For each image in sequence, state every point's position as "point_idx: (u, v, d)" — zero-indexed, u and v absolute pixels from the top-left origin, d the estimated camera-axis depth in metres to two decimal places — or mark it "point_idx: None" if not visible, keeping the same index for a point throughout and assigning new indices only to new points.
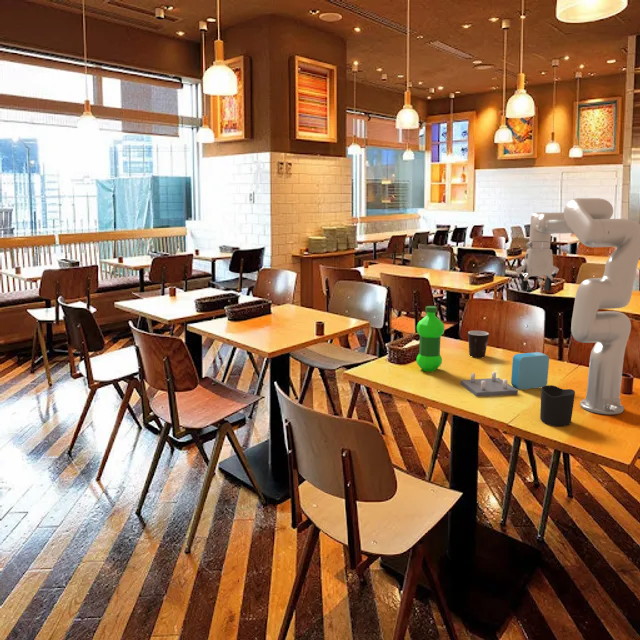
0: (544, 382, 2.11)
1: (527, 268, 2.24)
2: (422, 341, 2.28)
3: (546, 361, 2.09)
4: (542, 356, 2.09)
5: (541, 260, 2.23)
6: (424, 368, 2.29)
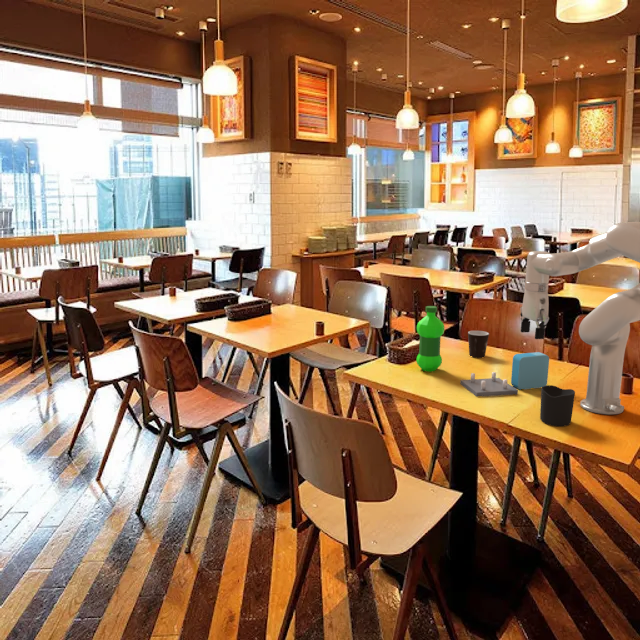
0: (544, 382, 2.11)
1: (546, 313, 2.02)
2: (422, 341, 2.28)
3: (546, 361, 2.09)
4: (542, 356, 2.09)
5: None
6: (424, 368, 2.29)
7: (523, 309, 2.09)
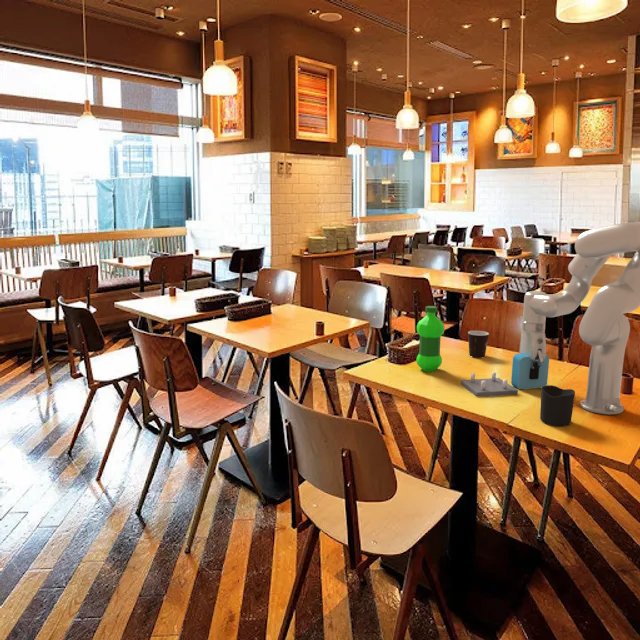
0: (544, 382, 2.11)
1: (542, 356, 2.05)
2: (422, 341, 2.28)
3: (546, 361, 2.09)
4: None
5: None
6: (424, 368, 2.29)
7: (521, 348, 2.12)
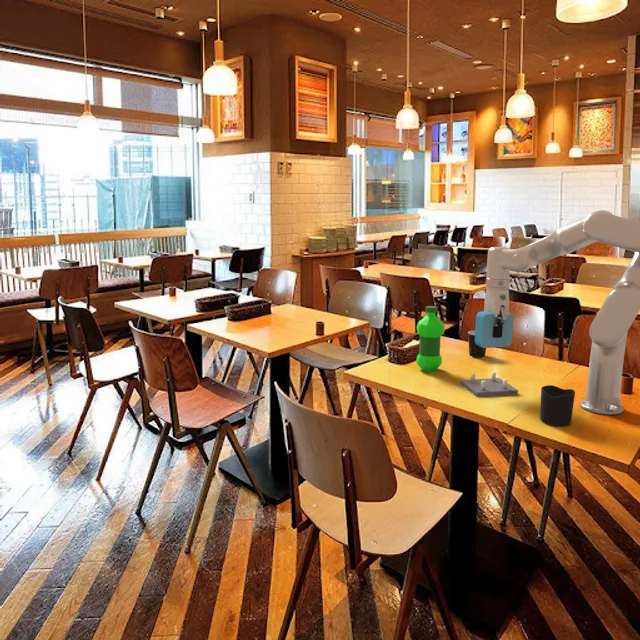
0: (508, 341, 2.05)
1: (505, 313, 2.00)
2: (422, 341, 2.28)
3: (511, 320, 2.04)
4: None
5: None
6: (424, 368, 2.29)
7: (485, 306, 2.06)
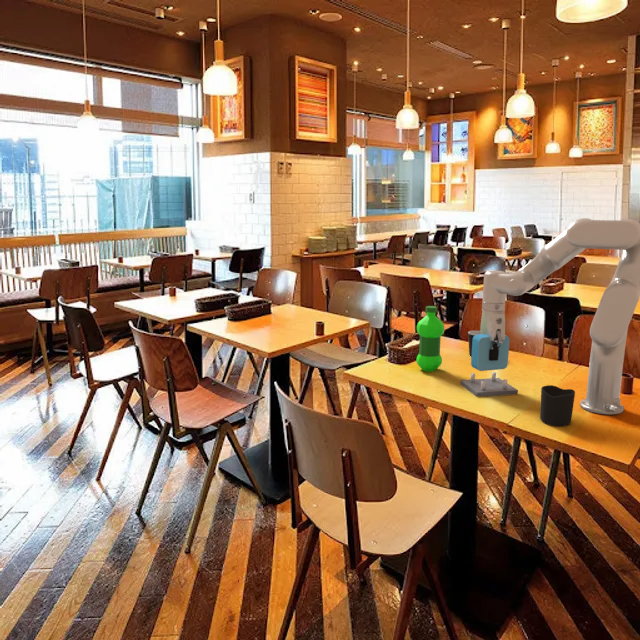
0: (504, 363, 2.07)
1: (502, 337, 2.01)
2: (422, 341, 2.28)
3: (507, 342, 2.05)
4: None
5: None
6: (424, 368, 2.29)
7: (481, 329, 2.08)
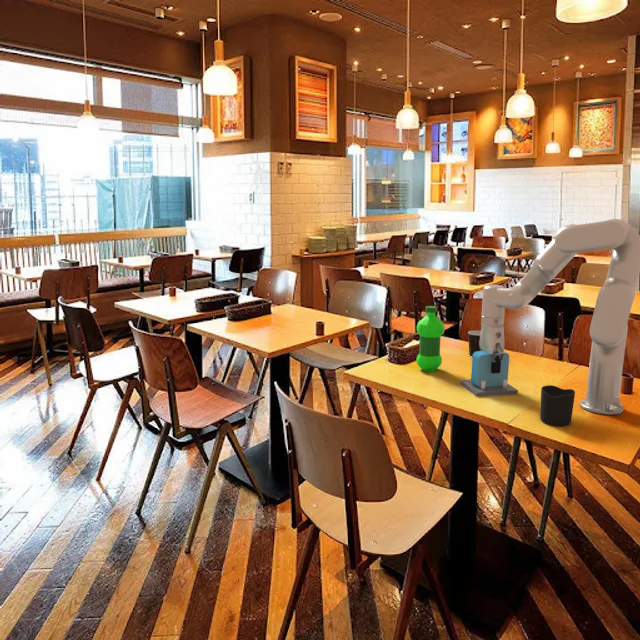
0: None
1: (501, 348, 2.02)
2: (422, 341, 2.28)
3: (506, 359, 2.06)
4: None
5: None
6: (424, 368, 2.29)
7: (481, 342, 2.09)
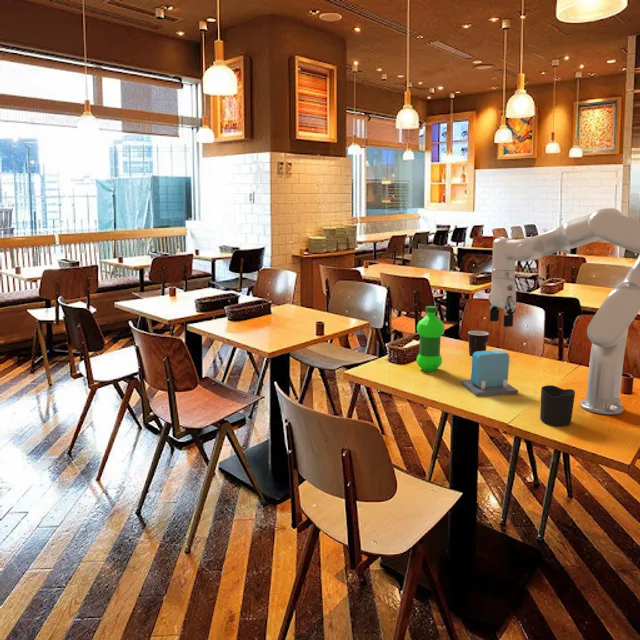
0: None
1: (513, 300, 2.00)
2: (422, 341, 2.28)
3: (506, 359, 2.06)
4: (502, 354, 2.05)
5: None
6: (424, 368, 2.29)
7: (491, 297, 2.07)
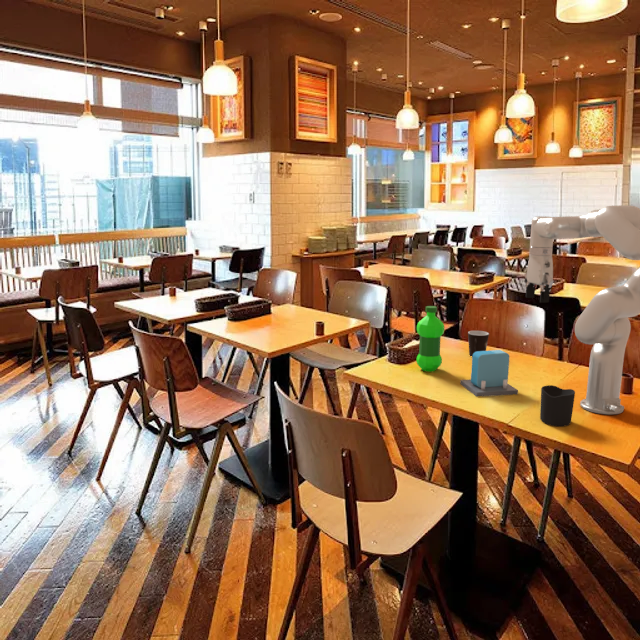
0: None
1: (550, 277, 2.06)
2: (422, 341, 2.28)
3: (506, 359, 2.06)
4: (502, 354, 2.05)
5: None
6: (424, 368, 2.29)
7: (528, 274, 2.13)
